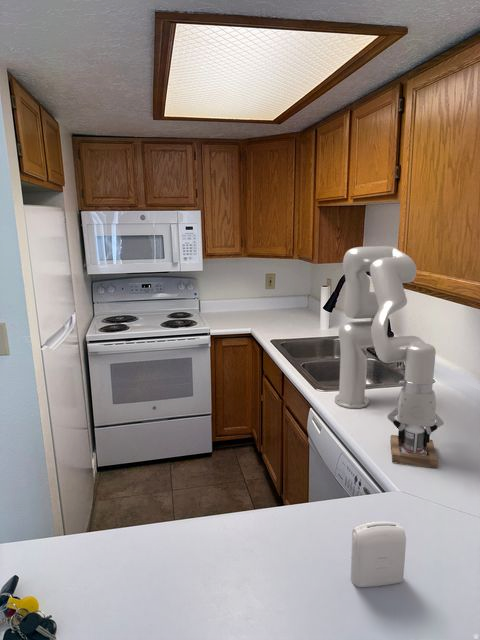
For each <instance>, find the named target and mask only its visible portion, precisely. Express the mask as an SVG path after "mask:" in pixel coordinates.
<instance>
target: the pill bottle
mask: <svg viewBox="0 0 480 640" xmlns="http://www.w3.org/2000/svg"><path fill="white" fill-rule="evenodd" d="M425 429H426V428H425V426H416V425H407V424H406V425H405V426H404V442H403V447H402V448H403V450H404V451H405V452H406V453H411V454H419V455H420V454H421V453H423V452H424V449H423V446H424V433H425Z"/></svg>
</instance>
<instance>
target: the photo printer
mask: <svg viewBox="0 0 480 640" xmlns="http://www.w3.org/2000/svg"><path fill="white" fill-rule="evenodd" d="M406 545H407V537H406V531H405V529H404V528H403V526H402V524H400V523H398V522H392V521H373V522H368V523H364V524H360V525H358V526H356V527H354V528H353V529H352V533H351V557H350V558H351V560H350V580H351V582H352V584H354V585H355V586H356V587H357V588H369V587H379V586H389V585H394V584H399V583H402V582H403V581H404V575H405V574H404V573H405V562H406V561H405V560H406V547H407V546H406Z"/></svg>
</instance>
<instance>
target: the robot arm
mask: <svg viewBox="0 0 480 640" xmlns="http://www.w3.org/2000/svg"><path fill="white" fill-rule="evenodd" d="M342 268H343V272H344V273H343V274H344V278H345V287H344V314H345V316H346V317H347V318H348V319H351V320H352V319H353V320H354V319H355V320H357V321H350V322H345V323H343V324H342V325H341V326H339V330H338V341H339V350H340V351H339V352H340V359H339V360H340V361H339V384H338V385H339V389H338V394H336V396H334V402H335V403H336V404H337V405H338V406H340V407H343V408H346V409H361V408H365V407H367V406H368V405H369V403H370V402H369V398H368V397H367V396H365V395H366V379H367V378H366V377H367V357H366V356H367V355H365V353H364V352H363V350H362V348H365V347H366V348H367V347H374V350H375V354H376V356H377V358H378V359H379V360H380V361H381V362H382V363H385V364H393V363H401V362H402V363H404V362H405V367H404V369H405V370H404V377H403V380H401V379H400V380H398V385H399V386H402V387H401V389H400V393H399V396H398V402H397V407H396V408H395V409H394V410H392V411H391V412H389V413H388V414H387V419H388V420H389V421H390V422H391V423H392V424H393V425H394V426H395V428H397V430H398V434H397V436H398V439H400V441H401V444H403V442H404V426H405V425H406V424H407V425H416V426H424V428H425V433H424V446H425V447H427V443H429V440H431V439H430V438H431V437H430V436H431V434H432V433H434V431H436V430H437V429H438V428H441V427H442V426H443V425H444V424H445V422H444V420H443V419H442V418H441V417H440V416H439V414H437V412H436V411H437V401H436V400H437V399H436V393H435V391H434V390H433V383H434V374H435V364H436V362H435V361H436V354H437V351H436V348H435V346H433V344H430V343H426V342H425V341H424V340H423V339H422V338H420V337H418V336H417V335H406V336H392V337H391V336H390V337H388V326H389V316H390V315H392V314H394V313H395V312H397V311H400V310H401V309H403V308H404V307H405V306H406V305H407V304H408V298H407V296H406V291H405V289H404V285H403V284H407V283H412V282H413V281H414V280H415V279H416V277H417V273H418V272H417V271H418V270H417V266H416V263H415V261H414V260H413V259H412V258H411V257H410V256H409V255H407V254H406V253H404V252H403V251H401V250H399V249H398V248H396V247H394V246H391V245H390V246H389V245H388V246H387V245H386V246H385V245H381V246H376V245H375V246H370V245H369V246H357V247H352V248H350V249H348V250H347V251H346V252H345V254H344V256H343V260H342ZM367 272H369V275H370V277H369V275H368V274H367ZM370 278H371V280H370ZM371 282H372V287H373V289H374V290H373V291H370V290H371ZM360 319H362V320H360ZM363 319H370V320H363ZM396 417H397V418H396Z"/></svg>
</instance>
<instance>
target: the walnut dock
mask: <svg viewBox="0 0 480 640" xmlns="http://www.w3.org/2000/svg"><path fill="white" fill-rule="evenodd" d="M389 441H390V442H389V443H390V450H391V454H392V455H391V462H392V463H393V462H397V463H396V464H400V463H402V464H401V465H407V464H408V465H409V466H415V467H424V468H431V469H438V466H439V465H438V464H439V459H438V456H437V452H436V447H435V444H434V442H433V439H430V440H429V443H427V447H425V446H423V450H424V451H425V453H426V455H425V454H420V453H419V454H413V453H409V452H403V451H402V452H400V447H401V448H403V444H401V441H400V439H398V435H394V434H391V435H390V440H389Z"/></svg>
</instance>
